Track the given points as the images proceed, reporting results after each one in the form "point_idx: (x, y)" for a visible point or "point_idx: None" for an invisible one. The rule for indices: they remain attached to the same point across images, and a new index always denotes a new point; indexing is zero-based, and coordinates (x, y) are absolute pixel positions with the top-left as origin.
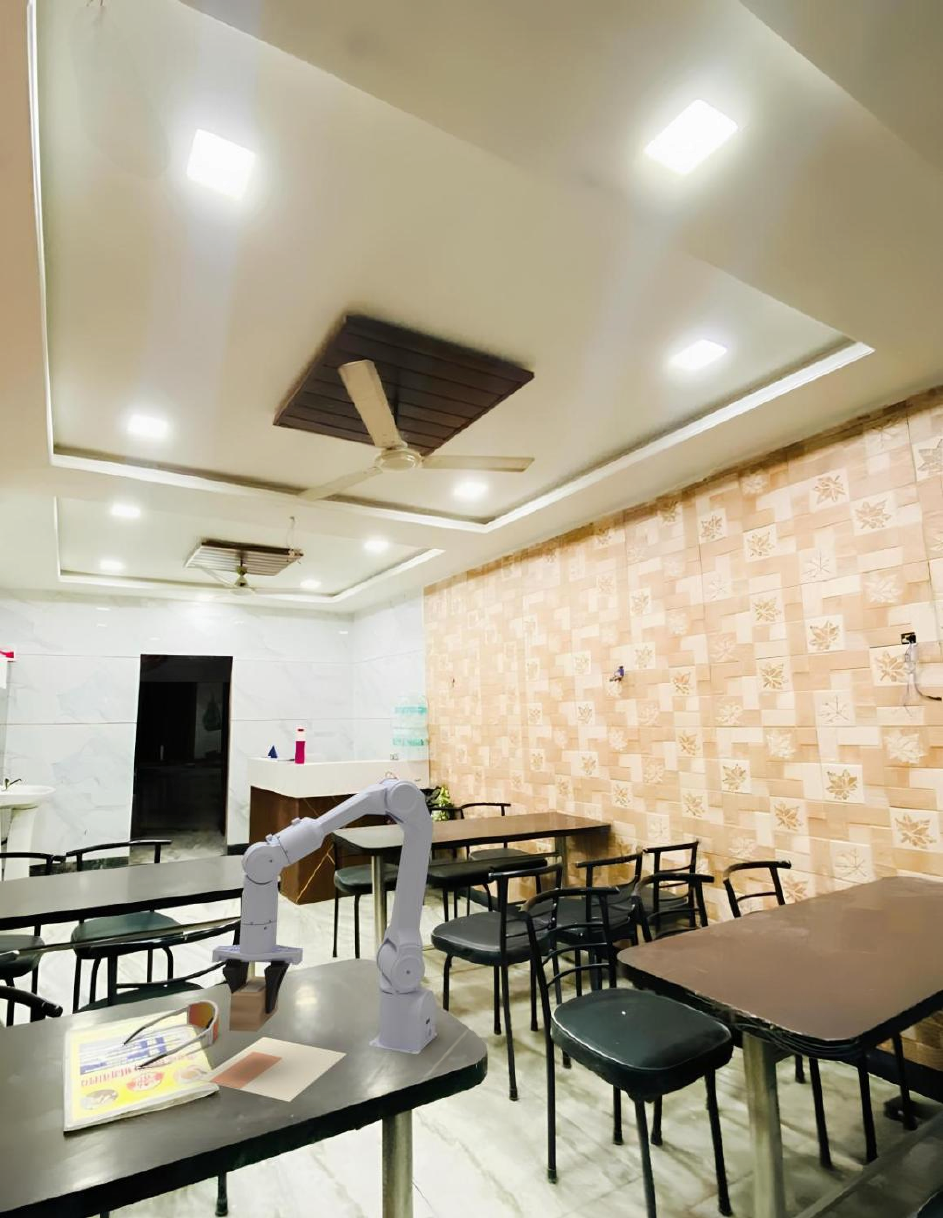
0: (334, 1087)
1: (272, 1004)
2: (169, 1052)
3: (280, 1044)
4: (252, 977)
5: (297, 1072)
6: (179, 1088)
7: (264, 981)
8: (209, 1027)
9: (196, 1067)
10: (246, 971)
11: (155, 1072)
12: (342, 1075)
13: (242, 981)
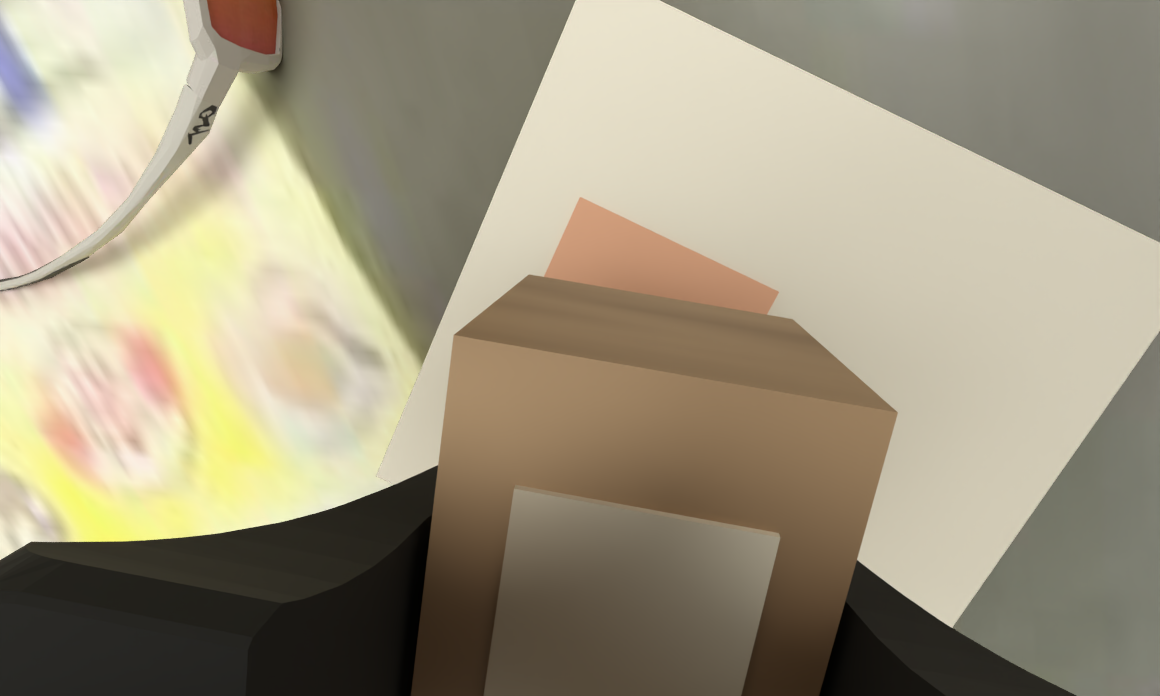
0: (1104, 572)
1: None
2: (89, 254)
3: (734, 98)
4: (453, 381)
5: (897, 460)
6: (310, 496)
7: (697, 597)
8: (198, 56)
9: (301, 298)
10: (358, 635)
11: (113, 332)
12: (1151, 461)
13: (384, 671)
